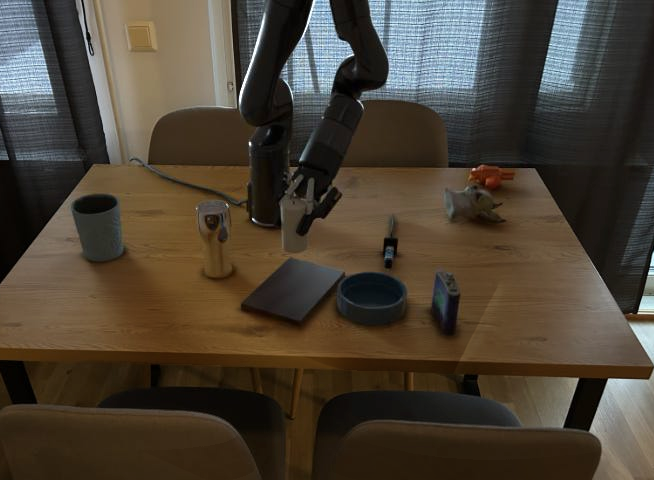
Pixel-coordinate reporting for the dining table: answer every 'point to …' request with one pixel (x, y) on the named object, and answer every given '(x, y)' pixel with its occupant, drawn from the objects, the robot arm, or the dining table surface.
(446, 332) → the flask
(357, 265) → the dining table surface
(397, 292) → the bowl
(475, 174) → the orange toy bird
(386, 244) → the knife
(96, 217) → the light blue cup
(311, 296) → the cutting board
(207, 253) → the beer glass
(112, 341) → the dining table surface
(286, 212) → the candle
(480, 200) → the ceramic sculpture
